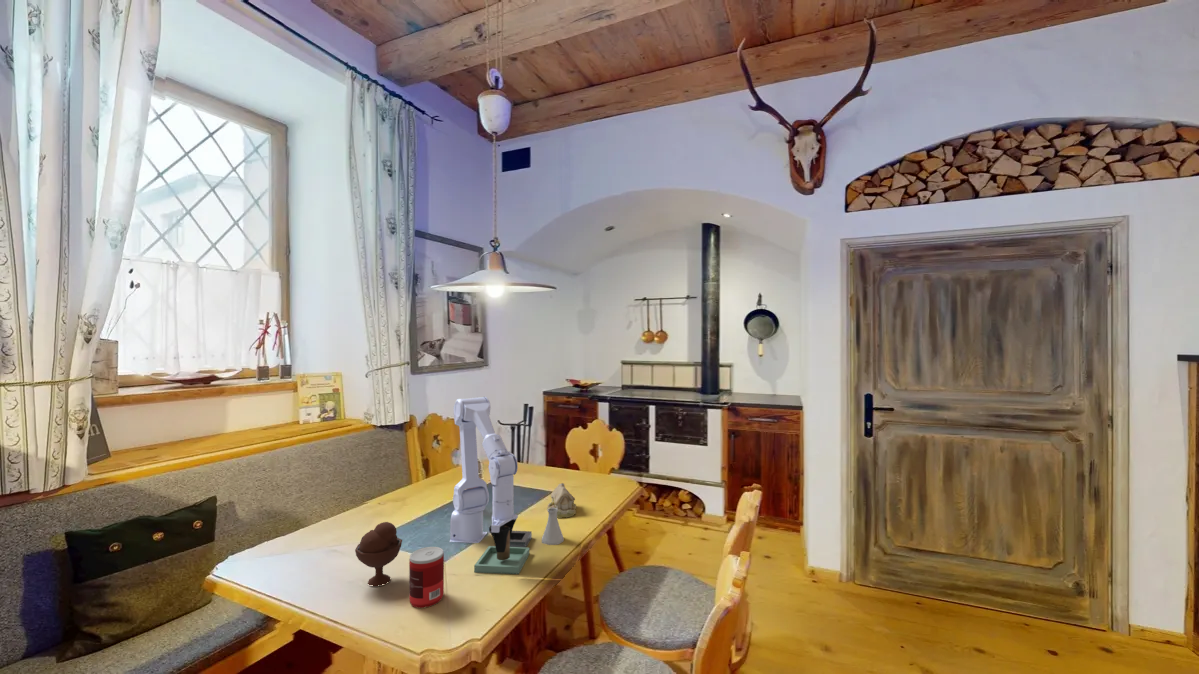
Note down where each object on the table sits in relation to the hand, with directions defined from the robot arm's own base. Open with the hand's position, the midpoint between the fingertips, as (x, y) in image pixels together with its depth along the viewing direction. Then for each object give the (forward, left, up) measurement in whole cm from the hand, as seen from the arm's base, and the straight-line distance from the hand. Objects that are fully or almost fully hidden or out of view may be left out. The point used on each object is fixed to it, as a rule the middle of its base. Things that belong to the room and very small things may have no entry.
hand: (503, 548), depth 132 cm
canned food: (-13, -19, -5) cm, 23 cm away
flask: (+11, +16, -5) cm, 20 cm away
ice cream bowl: (-29, -12, -5) cm, 32 cm away
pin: (0, 0, -2) cm, 2 cm away
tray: (0, 0, -4) cm, 4 cm away
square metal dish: (0, +13, -4) cm, 14 cm away
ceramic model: (+10, +42, -5) cm, 44 cm away
